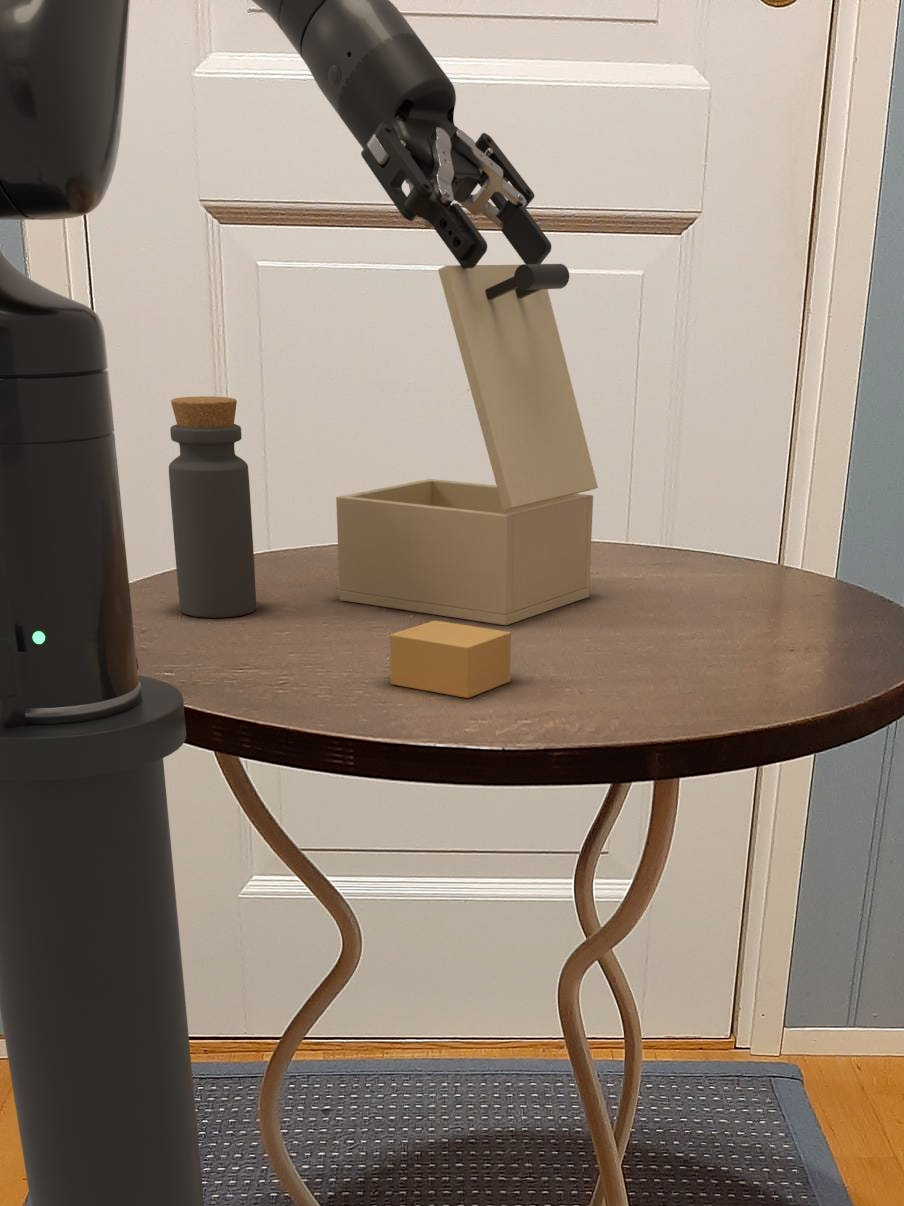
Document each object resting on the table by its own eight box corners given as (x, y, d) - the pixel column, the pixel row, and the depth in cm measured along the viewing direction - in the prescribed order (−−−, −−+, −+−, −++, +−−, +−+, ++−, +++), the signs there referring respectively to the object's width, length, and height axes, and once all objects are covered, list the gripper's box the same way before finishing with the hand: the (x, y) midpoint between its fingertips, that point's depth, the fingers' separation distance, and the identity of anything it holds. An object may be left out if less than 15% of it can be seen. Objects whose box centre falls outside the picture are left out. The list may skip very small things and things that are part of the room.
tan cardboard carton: (390, 684, 97) (389, 634, 96) (434, 668, 101) (434, 619, 100) (468, 698, 95) (468, 647, 93) (510, 681, 98) (511, 632, 97)
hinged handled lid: (437, 269, 104) (495, 241, 101) (532, 268, 114) (588, 242, 111) (503, 511, 109) (560, 491, 106) (589, 490, 118) (644, 472, 115)
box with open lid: (339, 600, 120) (335, 496, 116) (430, 575, 129) (429, 478, 126) (505, 625, 113) (507, 516, 109) (589, 597, 122) (593, 495, 118)
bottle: (271, 607, 118) (260, 398, 111) (227, 621, 113) (212, 404, 106) (210, 599, 120) (195, 394, 113) (164, 613, 115) (145, 400, 108)
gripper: (344, 18, 100) (488, 215, 100) (464, 40, 111) (594, 218, 111) (286, 114, 105) (423, 302, 105) (406, 126, 116) (531, 297, 116)
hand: (510, 259), depth 108 cm, fingers open, 8 cm apart
